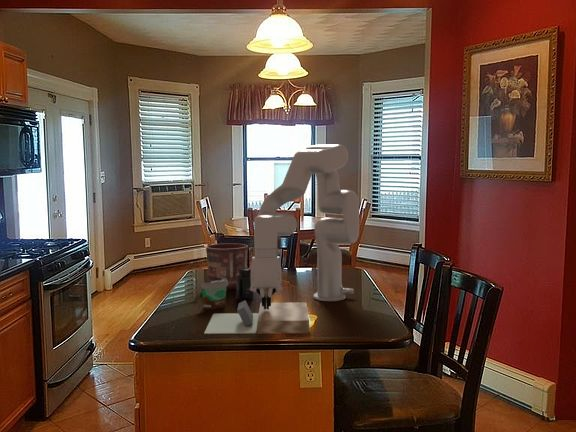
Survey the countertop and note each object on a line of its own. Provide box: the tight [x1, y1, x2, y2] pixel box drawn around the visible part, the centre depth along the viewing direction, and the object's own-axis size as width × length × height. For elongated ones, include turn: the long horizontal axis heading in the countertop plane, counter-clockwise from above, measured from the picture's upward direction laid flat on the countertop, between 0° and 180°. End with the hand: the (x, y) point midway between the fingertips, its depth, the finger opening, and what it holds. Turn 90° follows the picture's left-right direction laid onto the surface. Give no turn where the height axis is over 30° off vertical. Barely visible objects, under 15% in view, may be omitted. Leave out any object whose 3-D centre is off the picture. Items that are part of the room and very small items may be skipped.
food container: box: [200, 277, 228, 310], centre depth 195 cm, size 12×6×10 cm, turn 148°
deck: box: [257, 301, 310, 335], centre depth 174 cm, size 16×22×4 cm
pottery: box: [205, 242, 249, 291], centre depth 227 cm, size 18×18×18 cm
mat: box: [203, 312, 259, 335], centre depth 175 cm, size 16×22×1 cm
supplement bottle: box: [235, 267, 255, 302], centre depth 207 cm, size 7×7×12 cm
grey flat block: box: [236, 300, 253, 327], centre depth 174 cm, size 6×9×2 cm
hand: (266, 308), depth 174 cm, fingers closed
